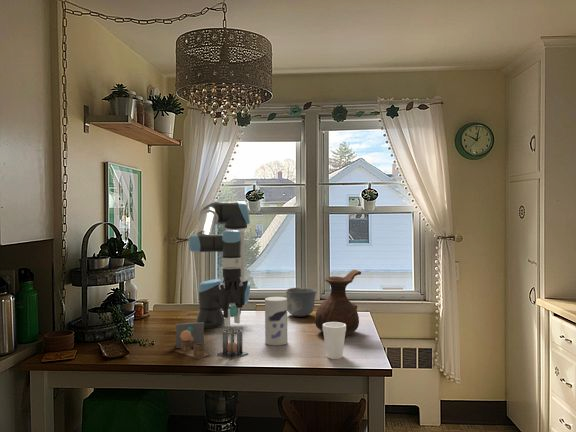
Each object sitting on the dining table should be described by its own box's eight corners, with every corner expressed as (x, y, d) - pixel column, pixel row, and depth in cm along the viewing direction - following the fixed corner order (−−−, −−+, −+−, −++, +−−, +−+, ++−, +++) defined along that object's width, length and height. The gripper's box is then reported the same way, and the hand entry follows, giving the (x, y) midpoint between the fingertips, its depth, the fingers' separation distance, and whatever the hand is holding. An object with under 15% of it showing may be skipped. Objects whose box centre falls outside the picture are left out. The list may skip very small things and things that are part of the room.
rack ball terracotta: (178, 341, 203) (178, 330, 203) (187, 339, 206) (187, 328, 206) (184, 343, 200) (184, 332, 200) (193, 341, 203) (193, 330, 203)
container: (271, 346, 209) (270, 301, 209) (261, 341, 218) (261, 297, 217) (291, 343, 213) (291, 299, 213) (281, 338, 222) (281, 295, 222)
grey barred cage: (217, 355, 198) (216, 330, 198) (233, 350, 204) (233, 326, 204) (231, 359, 192) (231, 334, 191) (248, 354, 198) (247, 330, 198)
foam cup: (321, 353, 199) (321, 322, 199) (343, 352, 200) (343, 321, 200) (325, 360, 189) (324, 327, 189) (348, 359, 190) (347, 327, 190)
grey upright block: (176, 344, 213) (176, 322, 213) (203, 342, 216) (203, 320, 216) (176, 347, 209) (175, 325, 208) (204, 345, 211) (203, 323, 211)
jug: (356, 341, 217) (355, 275, 217) (310, 337, 224) (309, 273, 223) (363, 329, 238) (362, 269, 238) (320, 326, 244) (320, 268, 244)
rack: (175, 351, 203) (175, 340, 203) (187, 348, 208) (187, 337, 208) (198, 359, 192) (198, 347, 192) (210, 355, 197) (209, 344, 197)
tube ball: (224, 353, 198) (224, 342, 198) (233, 351, 201) (233, 340, 201) (231, 355, 195) (231, 344, 195) (240, 353, 198) (240, 342, 198)
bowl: (323, 315, 270) (322, 288, 270) (307, 321, 256) (307, 293, 255) (296, 311, 280) (296, 286, 280) (279, 317, 265) (279, 290, 265)
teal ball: (224, 317, 197) (224, 305, 197) (232, 315, 201) (232, 304, 201) (231, 318, 194) (231, 307, 194) (240, 316, 198) (240, 305, 198)
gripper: (220, 270, 188) (221, 329, 189) (253, 266, 201) (254, 321, 201) (209, 269, 194) (209, 326, 194) (241, 265, 206) (242, 319, 207)
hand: (232, 324), depth 198 cm, fingers closed on teal ball, 4 cm apart
